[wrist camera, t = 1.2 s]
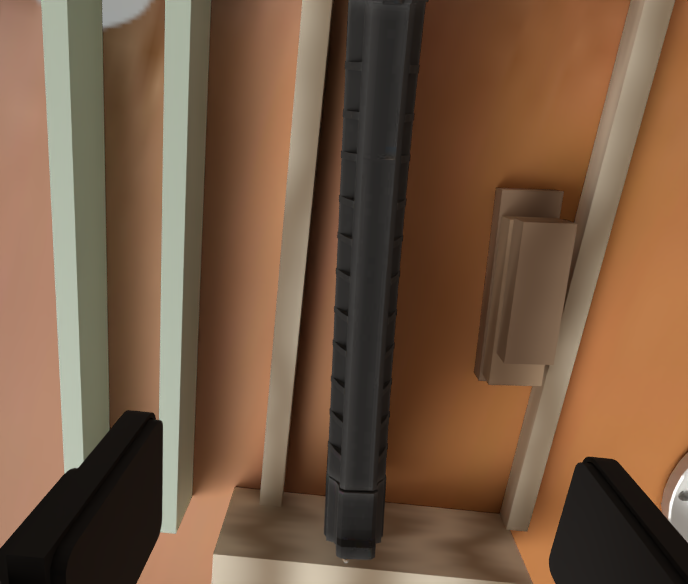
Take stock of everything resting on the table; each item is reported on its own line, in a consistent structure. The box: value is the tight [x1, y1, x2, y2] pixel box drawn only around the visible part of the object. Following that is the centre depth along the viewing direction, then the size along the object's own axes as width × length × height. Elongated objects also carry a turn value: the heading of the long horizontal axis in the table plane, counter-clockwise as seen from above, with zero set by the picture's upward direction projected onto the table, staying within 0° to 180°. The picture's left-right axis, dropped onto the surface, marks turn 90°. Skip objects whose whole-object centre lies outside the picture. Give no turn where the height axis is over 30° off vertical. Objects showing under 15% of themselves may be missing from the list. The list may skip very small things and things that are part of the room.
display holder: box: [41, 0, 211, 534], centre depth 28 cm, size 7×36×4 cm, turn 173°
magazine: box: [324, 0, 429, 563], centre depth 25 cm, size 17×3×30 cm
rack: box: [212, 0, 675, 584], centre depth 28 cm, size 21×40×6 cm, turn 173°
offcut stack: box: [474, 188, 577, 386], centre depth 29 cm, size 4×12×4 cm, turn 178°
